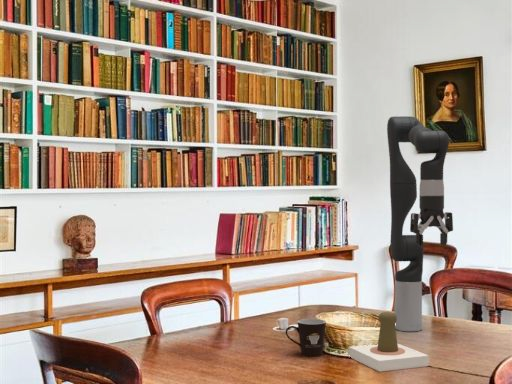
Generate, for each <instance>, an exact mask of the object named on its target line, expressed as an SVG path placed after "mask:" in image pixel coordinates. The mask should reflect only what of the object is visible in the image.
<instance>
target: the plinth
mask: <svg viewBox="0 0 512 384" xmlns="http://www.w3.org/2000/svg"><path fill="white" fill-rule="evenodd" d="M376 344H377V345H372V344H367V345H368V346H362V345H353V346H348V356H349V355H350V356H351V359H352V360H355V361H357V362H359V363H360V364H362V365H365V366H366V367H369V368H371V369H373V370H375V371H377V372H381V373H382V372H388V371H397V370H405V369H414V368H415V369H416V368H424V367H430V366H429V363H430V361H429V354H426V353H424V352H420V351H417V350H416V349H413V348H410V347H407V346H405V345H403V344H400V343H398V342H397V344H398V351H397V352H381V351H378V350H377V348H378V343H376Z"/></svg>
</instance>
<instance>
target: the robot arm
mask: <svg viewBox="0 0 512 384" xmlns="http://www.w3.org/2000/svg"><path fill="white" fill-rule="evenodd" d="M386 134H387V144H388V145H387V146H388V155H389V157H388V158H389V193H390V210H391V211H390V212H391V215H390V216H391V224H390V227H391V228H390V247H389V248H390V254H391V258H392V260H393V261H395V262H409V264H408V265H407V266H406V267H404V268H402V269H399V270H396V272H395V275H394V281H395V283H394V285H395V286H394V288H395V289H394V291H395V293H394V294H395V295H394V299H395V300H394V303H393V307H394V309H393V311H394V312H393V313H394V314H395V315H396V317H397V321H396V326H395V329H396V331H402V332H420V331H422V330H423V272H424V271H423V270H424V269H423V268H424V249H425V248H424V246H425V245H424V232H425V230H427V228H428V227H429V228H432V227H436V228H437V229H438V230H439V232H440V237H439V239H440V241H439V242H440V243H439V244H440V246H447V244H448V234H449V233H450V232H453V231H454V225H453V224H454V223H453V221H454V220H453V218H454V217H453V212H448V211H446V212H444V209H445V183H444V164H445V160H446V156H447V152H448V149H449V146H450V137H449V135H448V133H447V132H446V131H444V130H432V129H431V128H428V127H427V126H424V124H423V123H422V122H421V121H420V120H419V119H418V118H417V117H415V116H391V117H389V118H388V120H387V126H386ZM400 143H410V144H411V145H412V146H414V148H415V150H416V152H418V153H420V154H435V156H434V157H433V158H432V159H429V160H425V161H424V160H423V161H422V162H421V163H420V167H419V168H420V169H419V170H420V171H419V172H420V173H419V175H420V180H419V181H420V182H419V213H416V212H412V213H410V211H411V209H413V206H414V204H415V203H416V200H417V198H418V192H417V190H418V189H417V186H418V185H417V177H416V176H415V174H414V171H412V169H411V168H410V166H409V164H408V163H407V162H406V160H405V158H404V157H403V154H402V151H401V148H400ZM409 213H410V228H409V229H410V231H409V232H411V233H413V234H403V229H404V224H405V221H406V219H407V216H408V215H409ZM443 219H444V221H443ZM419 220H420V222H419Z"/></svg>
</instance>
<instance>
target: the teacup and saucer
mask: <svg viewBox="0 0 512 384" xmlns="http://www.w3.org/2000/svg"><path fill="white" fill-rule="evenodd" d="M278 322H279V324H278ZM275 323H276V325H277V326H275V327H273V328H272V330H273V331H276V332H281V331H286V329H287V328H288V327H290V326H295V327H298V323H297V324H295V323H294V324H290V325H289V318H288V317H280V318H278V319H277V320H276V321H275ZM279 328H280V330H279ZM292 331H296V329H295V328H290V329H289V330H288V331H287V332H292Z"/></svg>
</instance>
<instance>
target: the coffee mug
mask: <svg viewBox="0 0 512 384" xmlns="http://www.w3.org/2000/svg"><path fill="white" fill-rule="evenodd" d="M323 322H324V323H323ZM326 324H327V321H326V320H324V319H321V318H304V319H303V318H301V319H300V320H297V325H298V327H295V326H290V325H289V326H290V327H289V326H288V327H287V329H286V330H285V335H286V337H287V338H288V339H289V341H291V342H293V343H294V344H296V345H298V346H299V347H300V352H301V353H300V354H301V355H302V356H304V357H310V358H314V357H315V358H316V357H321V356H322V355H323V351H324V344H325V343H324V341H325V333H326ZM290 328H295V331H296V332H297V333H298V336H299V338H298V339H299V342H298V341H296V340H295V339H293V338H291V337H290V336H289V335H288V332H289V331H288V330H290Z"/></svg>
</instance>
